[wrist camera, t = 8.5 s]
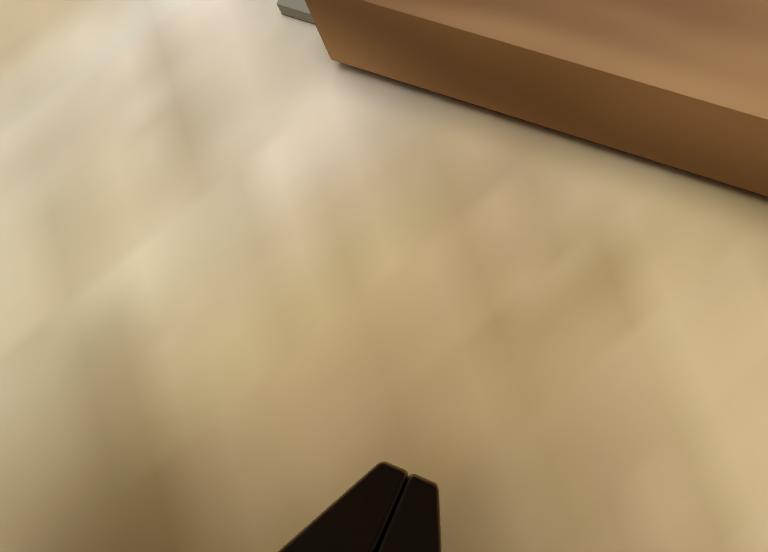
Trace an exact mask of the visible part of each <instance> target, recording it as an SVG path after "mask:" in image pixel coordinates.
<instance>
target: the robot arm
mask: <svg viewBox="0 0 768 552" xmlns="http://www.w3.org/2000/svg"><path fill="white" fill-rule="evenodd" d="M278 552H442V551H441V528H440V505H439V489H438V486H437V484H436V483H434V482H432V481H430V480H427V479H425V478H423V477H420V476H418V475H416V474H412V475H410V476H409V477H408V473H407V471H406V470H404V469H402V468H399V467H397V466H395V465H392V464H390V463H388V462H380V463H379V464H377V465H376V466H375V467H374V468H372V469H371V470H370V471H369V472H368V473H367V474H366V475H364V476H363V477H362V478H361V479H360V480H359V481H358V482H357V483H355V484H354V485H353V486H352V487H351V488H350V489H349V490H347V491H346V492H345V493H344V494H343V495H342V496H341V497H340V498H338V499H337V500H336V501H335V502H334V503H333V504H332V505H330V506H329V507H328V508H327V509H326V510H325V511H324V512H323V513H321V514H320V515H319V516H318V517H317V518H316V519H315V520H313V521H312V522H311V523H310V524H309V525H308V526H307V527H306V528H304V529H303V530H302V531H301V532H300V533H299V534H298V535H296V536H295V537H294V538H293V539H292V540H291V541H290V542H289V543H287V544H286V545H285V546H284V547H283V548H282V549H281V550H279V551H278Z"/></svg>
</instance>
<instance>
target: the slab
mask: <svg viewBox="0 0 768 552" xmlns="http://www.w3.org/2000/svg"><path fill="white" fill-rule="evenodd" d="M305 2H306V4H307V7H308V9H309V11H310V13H311V16H312V18H313V20H314V22H315V24H316V27H317V29H318V31H319V33H320V36H321V38H322V40H323V42H324V45H325V47H326V49H327V51H328V53H329V56H330V58H331V59H332V60H335V61H338V62H341V63H344V64H348V65H351V66H354V67H357V68H360V69H363V70H367V71H370V72H373V73H376V74H379V75H383V76H386V77H389V78H392V79H395V80H399V81H402V82H405V83H408V84H411V85H414V86H418V87H421V88H424V89H427V90H430V91H434V92H437V93H440V94H443V95H446V96H449V97H453V98H456V99H459V100H462V101H465V102H469V103H472V104H475V105H478V106H481V107H485V108H488V109H491V110H494V111H497V112H500V113H504V114H507V115H510V116H513V117H516V118H520V119H523V120H526V121H529V122H532V123H535V124H539V125H542V126H545V127H548V128H551V129H555V130H558V131H561V132H564V133H567V134H571V135H574V136H577V137H580V138H583V139H586V140H590V141H593V142H596V143H599V144H602V145H606V146H609V147H612V148H615V149H618V150H622V151H625V152H628V153H631V154H634V155H637V156H641V157H644V158H647V159H650V160H653V161H657V162H660V163H663V164H666V165H669V166H672V167H676V168H679V169H682V170H685V171H688V172H692V173H695V174H698V175H701V176H704V177H708V178H711V179H714V180H717V181H720V182H723V183H727V184H730V185H733V186H736V187H739V188H743V189H746V190H749V191H752V192H755V193H758V194H762V195H765V196H768V0H305Z"/></svg>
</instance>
